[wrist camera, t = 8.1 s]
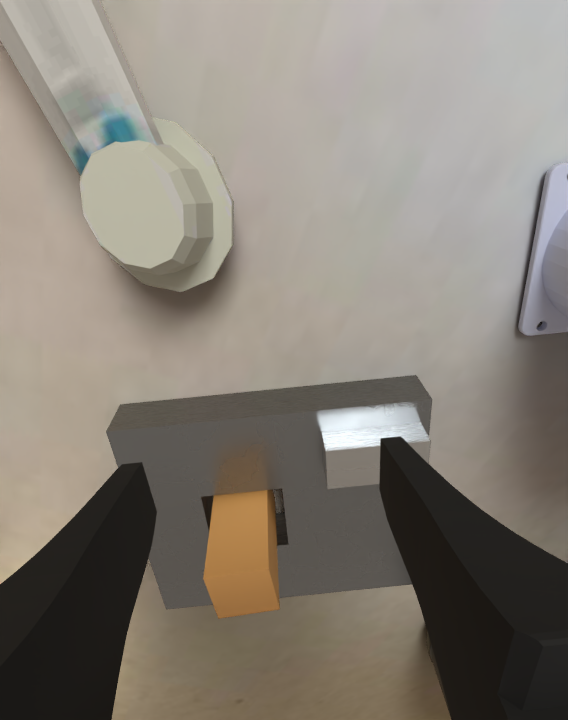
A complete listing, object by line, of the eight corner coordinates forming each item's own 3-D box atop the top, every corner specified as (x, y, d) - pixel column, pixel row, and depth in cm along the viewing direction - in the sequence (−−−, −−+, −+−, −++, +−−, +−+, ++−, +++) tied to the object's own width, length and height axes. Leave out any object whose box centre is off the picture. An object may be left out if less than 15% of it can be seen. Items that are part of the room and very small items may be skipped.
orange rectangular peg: (266, 464, 26) (268, 568, 19) (275, 500, 27) (279, 609, 21) (216, 472, 26) (203, 578, 20) (227, 508, 27) (218, 618, 21)
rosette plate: (416, 375, 23) (443, 417, 20) (404, 551, 30) (423, 606, 26) (120, 404, 23) (95, 451, 20) (172, 575, 30) (161, 633, 26)
